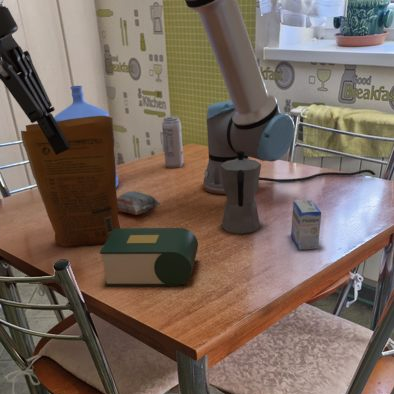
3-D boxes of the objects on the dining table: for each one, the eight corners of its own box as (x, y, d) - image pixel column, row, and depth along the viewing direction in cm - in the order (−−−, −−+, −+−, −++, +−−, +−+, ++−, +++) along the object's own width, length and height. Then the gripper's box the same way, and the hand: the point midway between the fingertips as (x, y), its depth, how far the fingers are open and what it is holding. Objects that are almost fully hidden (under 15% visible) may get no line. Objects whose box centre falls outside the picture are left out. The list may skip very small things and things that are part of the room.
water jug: (84, 178, 167) (67, 81, 150) (127, 181, 161) (114, 81, 145) (57, 194, 155) (35, 91, 139) (103, 198, 150) (85, 92, 134)
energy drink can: (186, 166, 172) (183, 117, 163) (170, 169, 170) (166, 120, 161) (178, 162, 176) (174, 114, 168) (162, 165, 174) (158, 117, 165)
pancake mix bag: (129, 244, 122) (111, 117, 106) (47, 252, 121) (17, 124, 105) (129, 233, 127) (112, 110, 111) (51, 240, 126) (22, 117, 110)
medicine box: (290, 236, 121) (292, 200, 116) (309, 235, 121) (312, 198, 116) (298, 250, 114) (301, 212, 109) (318, 248, 114) (322, 211, 109)
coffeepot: (222, 217, 133) (220, 144, 122) (259, 216, 132) (260, 142, 121) (220, 242, 120) (218, 162, 110) (261, 241, 119) (262, 161, 109)
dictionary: (198, 260, 113) (197, 227, 109) (192, 286, 103) (190, 251, 99) (118, 260, 115) (113, 227, 111) (105, 286, 105) (99, 251, 101)
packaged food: (138, 221, 133) (136, 202, 130) (107, 212, 140) (105, 194, 137) (161, 211, 139) (159, 193, 136) (131, 203, 145) (129, 186, 142)
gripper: (-19, 20, 91) (55, 148, 104) (-50, 30, 80) (36, 170, 93) (16, 0, 89) (87, 133, 102) (-11, 7, 78) (72, 153, 91)
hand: (63, 150), depth 97 cm, fingers closed
